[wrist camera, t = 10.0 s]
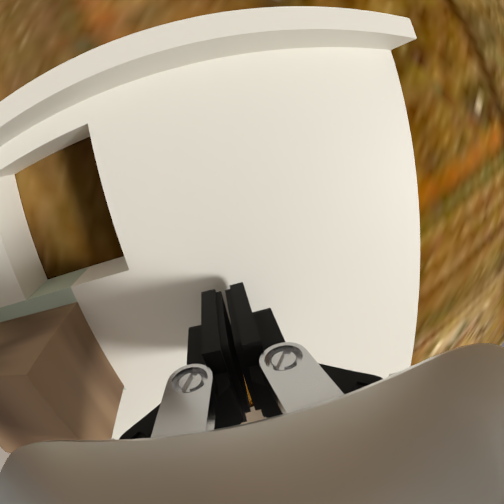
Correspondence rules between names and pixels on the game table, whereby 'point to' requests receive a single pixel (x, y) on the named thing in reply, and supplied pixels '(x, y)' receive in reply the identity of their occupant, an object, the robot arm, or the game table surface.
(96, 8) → the game table surface
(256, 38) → the board
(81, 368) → the walnut block
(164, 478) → the robot arm
